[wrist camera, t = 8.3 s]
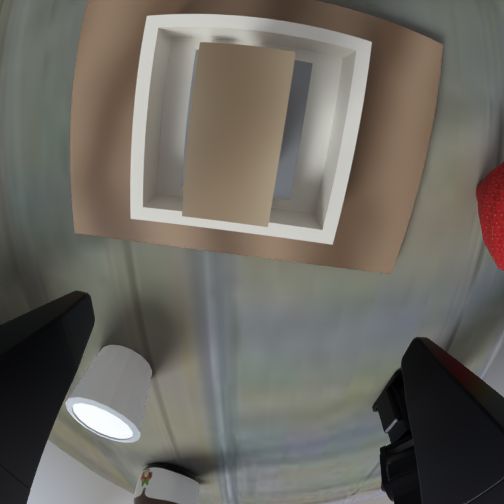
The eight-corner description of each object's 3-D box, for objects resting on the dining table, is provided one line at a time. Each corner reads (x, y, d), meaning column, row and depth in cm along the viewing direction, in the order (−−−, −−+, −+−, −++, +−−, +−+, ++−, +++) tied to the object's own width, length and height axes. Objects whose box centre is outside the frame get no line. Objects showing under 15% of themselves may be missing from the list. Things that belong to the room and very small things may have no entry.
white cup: (87, 332, 24) (54, 387, 18) (156, 348, 24) (133, 413, 18) (100, 378, 27) (77, 429, 21) (160, 393, 27) (145, 450, 21)
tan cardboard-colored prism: (277, 80, 14) (296, 52, 6) (264, 171, 16) (267, 227, 9) (229, 74, 13) (200, 42, 6) (217, 165, 16) (181, 215, 9)
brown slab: (435, 46, 13) (442, 44, 12) (386, 266, 20) (391, 273, 19) (94, 4, 12) (87, 1, 11) (81, 227, 19) (74, 232, 18)
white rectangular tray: (353, 51, 13) (371, 41, 10) (321, 223, 18) (332, 244, 15) (165, 29, 13) (146, 15, 10) (149, 201, 17) (130, 218, 15)
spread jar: (176, 459, 36) (164, 525, 25) (222, 482, 40) (217, 540, 29) (128, 463, 39) (114, 518, 28) (173, 486, 43) (165, 536, 32)
